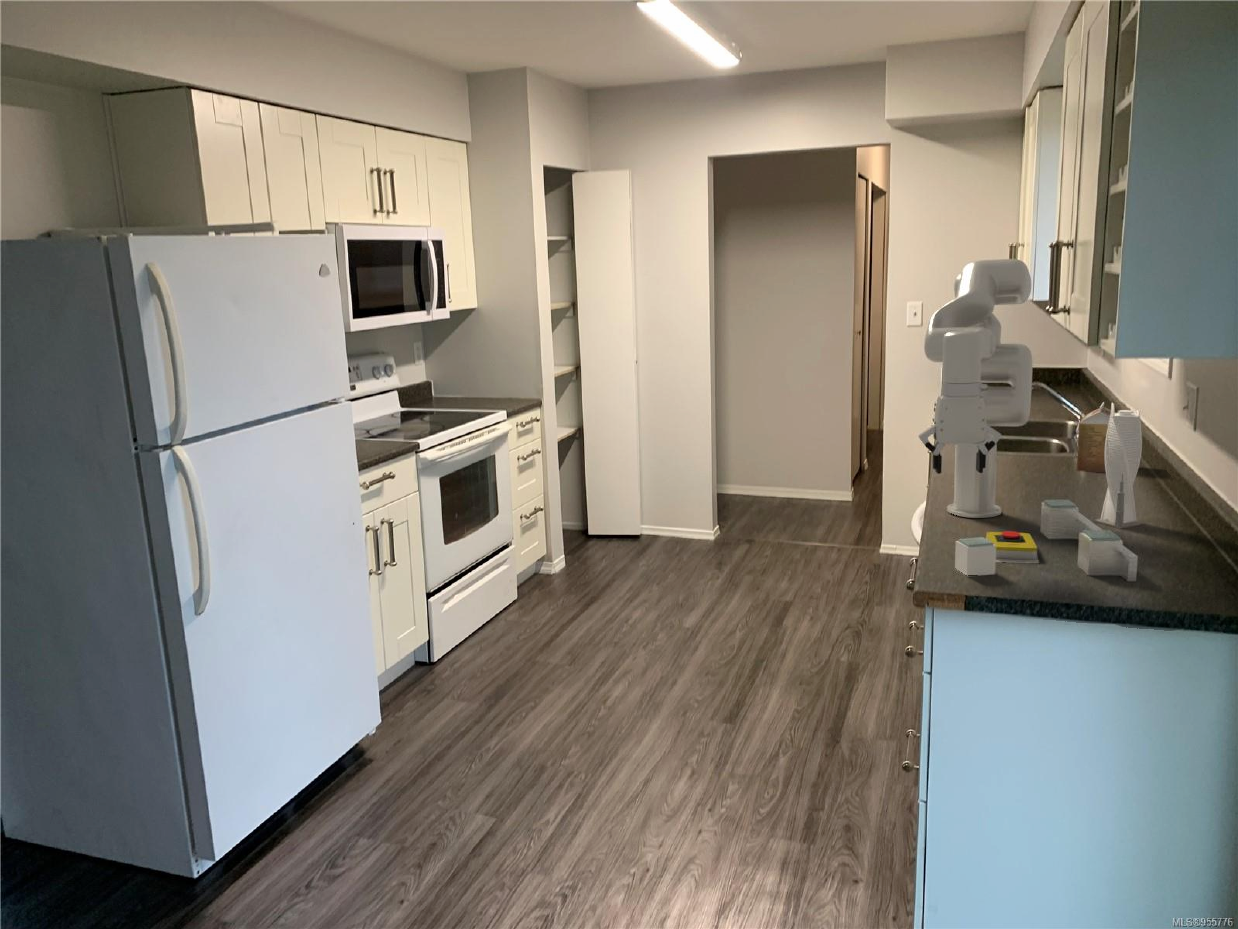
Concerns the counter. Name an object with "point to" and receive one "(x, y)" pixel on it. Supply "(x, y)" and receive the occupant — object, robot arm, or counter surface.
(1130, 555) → the rail fixture
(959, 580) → the counter surface
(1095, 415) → the milk carton
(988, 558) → the block
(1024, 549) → the emergency button
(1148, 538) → the counter surface
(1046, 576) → the counter surface
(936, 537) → the counter surface
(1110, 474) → the skyscraper
